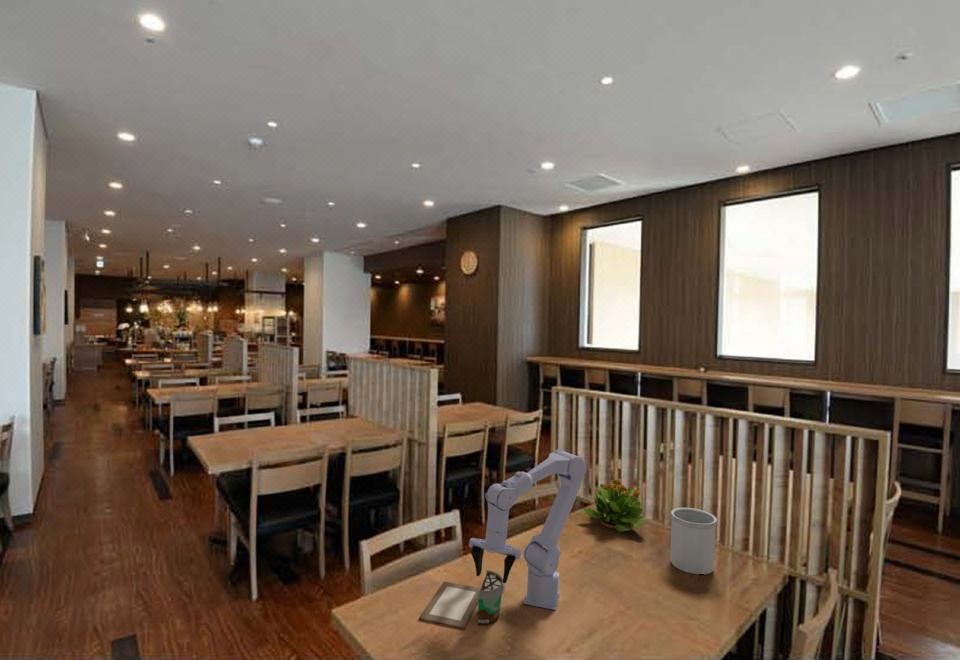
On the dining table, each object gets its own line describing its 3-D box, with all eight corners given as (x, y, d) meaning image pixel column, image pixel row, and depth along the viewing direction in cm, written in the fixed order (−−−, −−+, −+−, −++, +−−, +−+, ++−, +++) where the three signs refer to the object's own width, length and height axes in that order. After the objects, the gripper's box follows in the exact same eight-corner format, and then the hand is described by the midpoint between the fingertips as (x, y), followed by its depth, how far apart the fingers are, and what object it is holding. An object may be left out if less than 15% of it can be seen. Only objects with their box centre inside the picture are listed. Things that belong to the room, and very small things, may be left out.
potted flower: (581, 531, 197) (583, 487, 197) (579, 509, 221) (581, 470, 220) (647, 539, 193) (649, 494, 193) (638, 515, 217) (640, 475, 216)
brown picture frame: (484, 591, 151) (484, 589, 151) (464, 629, 132) (464, 627, 132) (443, 583, 155) (443, 581, 155) (418, 619, 135) (418, 617, 135)
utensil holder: (667, 569, 170) (670, 518, 169) (668, 551, 183) (671, 504, 183) (715, 580, 164) (718, 527, 164) (713, 560, 178) (715, 511, 177)
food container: (499, 632, 131) (501, 594, 131) (476, 628, 133) (478, 591, 133) (506, 606, 144) (508, 572, 143) (485, 603, 145) (487, 569, 145)
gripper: (467, 527, 137) (462, 577, 137) (518, 540, 132) (513, 591, 132) (476, 519, 144) (471, 567, 144) (524, 531, 139) (519, 580, 139)
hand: (491, 578), depth 138 cm, fingers open, 7 cm apart
